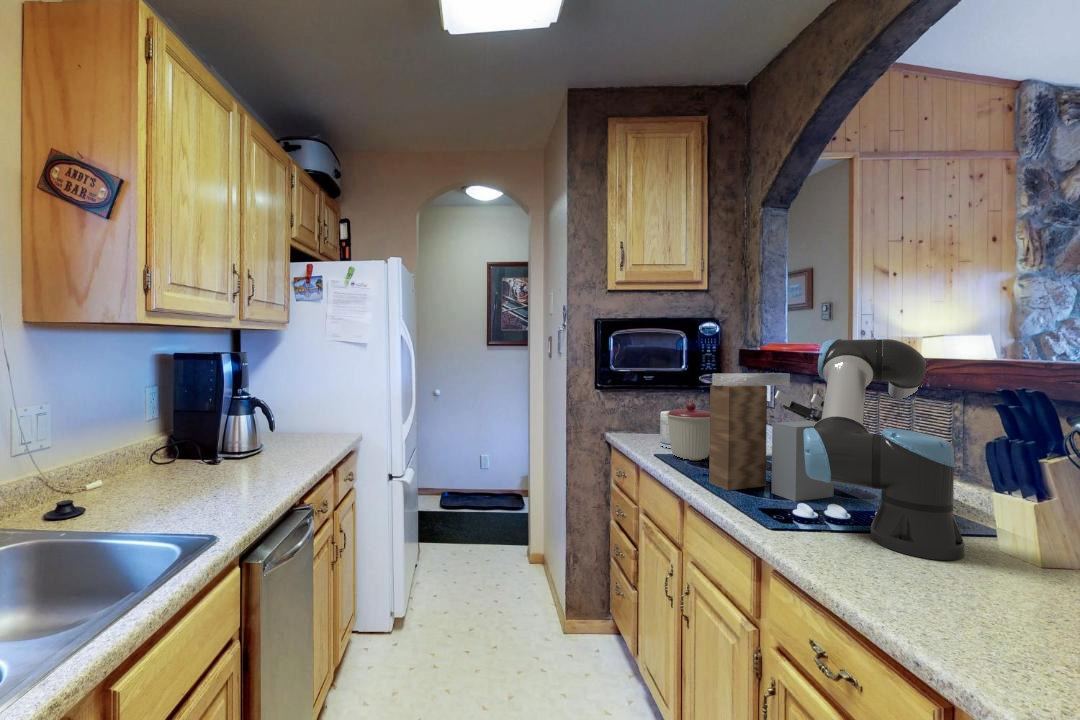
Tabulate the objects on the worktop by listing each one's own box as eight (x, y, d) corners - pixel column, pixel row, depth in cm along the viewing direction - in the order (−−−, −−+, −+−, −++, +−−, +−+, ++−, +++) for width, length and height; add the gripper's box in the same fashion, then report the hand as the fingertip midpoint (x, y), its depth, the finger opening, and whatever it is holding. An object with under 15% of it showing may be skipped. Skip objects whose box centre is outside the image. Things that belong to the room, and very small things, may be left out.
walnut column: (745, 479, 147) (746, 384, 146) (765, 486, 139) (767, 385, 139) (709, 483, 142) (710, 384, 142) (727, 490, 135) (729, 386, 134)
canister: (686, 465, 165) (687, 405, 165) (656, 454, 182) (656, 400, 182) (726, 461, 172) (727, 404, 172) (693, 451, 189) (693, 399, 188)
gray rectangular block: (808, 488, 137) (809, 420, 137) (833, 496, 130) (834, 424, 129) (771, 493, 132) (772, 422, 132) (795, 501, 125) (796, 427, 125)
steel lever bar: (781, 384, 147) (781, 373, 147) (789, 385, 143) (789, 373, 143) (712, 385, 140) (712, 373, 140) (719, 385, 137) (719, 374, 137)
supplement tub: (668, 443, 204) (669, 410, 204) (688, 447, 197) (688, 412, 197) (655, 446, 198) (655, 411, 198) (674, 450, 191) (674, 414, 190)
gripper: (869, 443, 142) (825, 411, 136) (799, 430, 165) (759, 402, 159) (878, 422, 143) (835, 388, 137) (807, 412, 166) (767, 383, 160)
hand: (794, 395), depth 148 cm, fingers open, 13 cm apart
